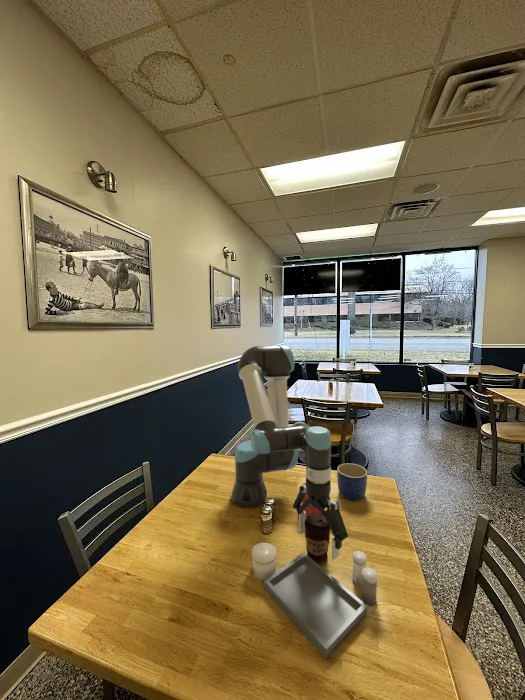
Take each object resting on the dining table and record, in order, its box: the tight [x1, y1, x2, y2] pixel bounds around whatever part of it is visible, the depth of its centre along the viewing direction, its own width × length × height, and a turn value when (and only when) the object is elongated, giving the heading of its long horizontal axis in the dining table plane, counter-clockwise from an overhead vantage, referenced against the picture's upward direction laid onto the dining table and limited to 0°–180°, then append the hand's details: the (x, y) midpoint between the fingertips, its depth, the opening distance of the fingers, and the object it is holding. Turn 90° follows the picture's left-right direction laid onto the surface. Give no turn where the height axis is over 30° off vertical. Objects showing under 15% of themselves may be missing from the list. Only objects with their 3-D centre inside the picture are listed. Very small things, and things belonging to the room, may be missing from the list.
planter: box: [336, 462, 368, 501], centre depth 125 cm, size 12×12×11 cm
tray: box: [263, 552, 369, 660], centre depth 77 cm, size 22×16×2 cm
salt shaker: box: [352, 550, 368, 587], centre depth 83 cm, size 4×4×8 cm
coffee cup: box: [304, 512, 331, 566], centre depth 91 cm, size 9×8×13 cm
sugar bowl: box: [251, 542, 277, 581], centre depth 87 cm, size 7×7×6 cm
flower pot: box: [300, 482, 321, 517], centre depth 114 cm, size 11×11×10 cm
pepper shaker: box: [361, 566, 378, 607], centre depth 77 cm, size 4×4×8 cm
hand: (318, 543), depth 91 cm, fingers open, 13 cm apart
